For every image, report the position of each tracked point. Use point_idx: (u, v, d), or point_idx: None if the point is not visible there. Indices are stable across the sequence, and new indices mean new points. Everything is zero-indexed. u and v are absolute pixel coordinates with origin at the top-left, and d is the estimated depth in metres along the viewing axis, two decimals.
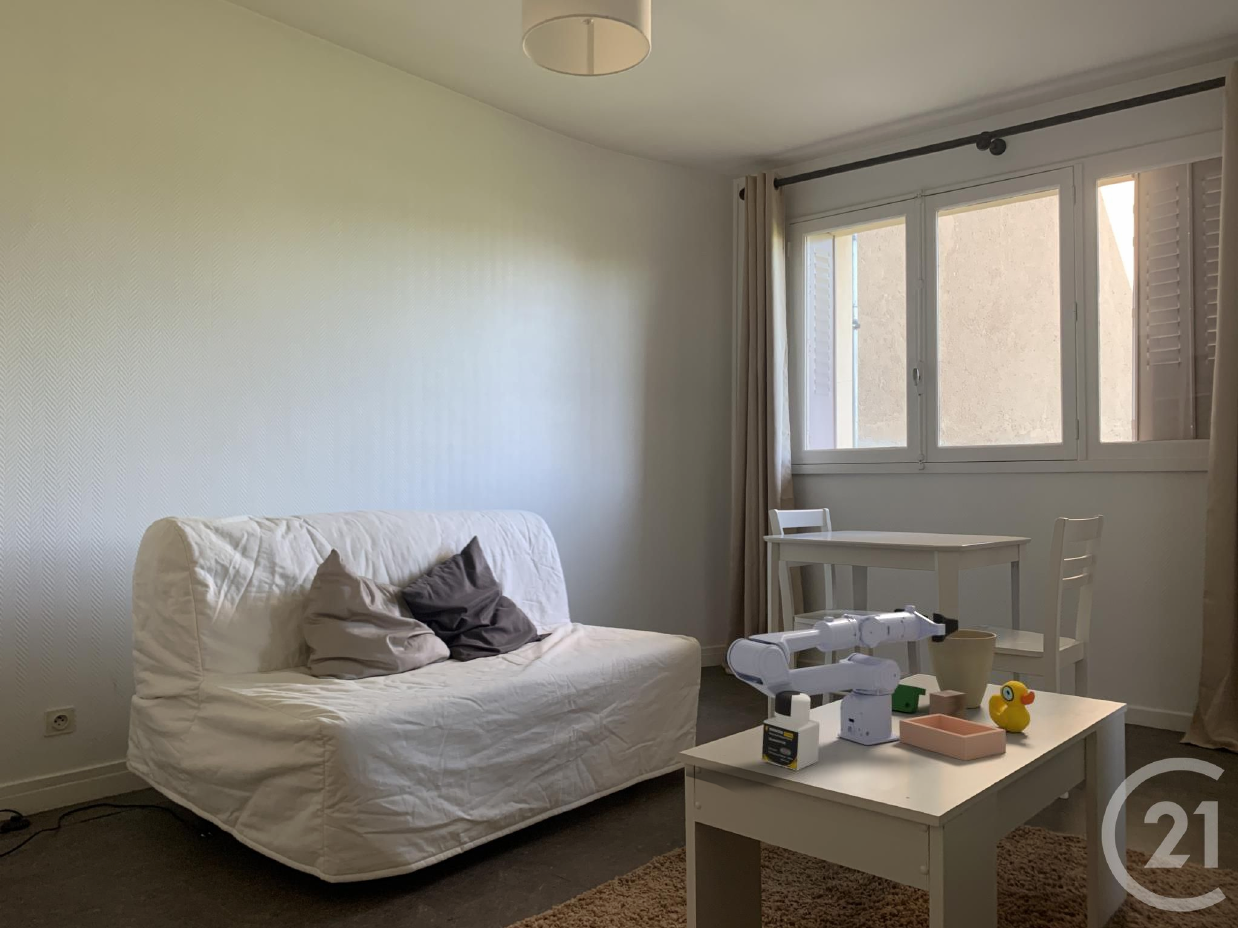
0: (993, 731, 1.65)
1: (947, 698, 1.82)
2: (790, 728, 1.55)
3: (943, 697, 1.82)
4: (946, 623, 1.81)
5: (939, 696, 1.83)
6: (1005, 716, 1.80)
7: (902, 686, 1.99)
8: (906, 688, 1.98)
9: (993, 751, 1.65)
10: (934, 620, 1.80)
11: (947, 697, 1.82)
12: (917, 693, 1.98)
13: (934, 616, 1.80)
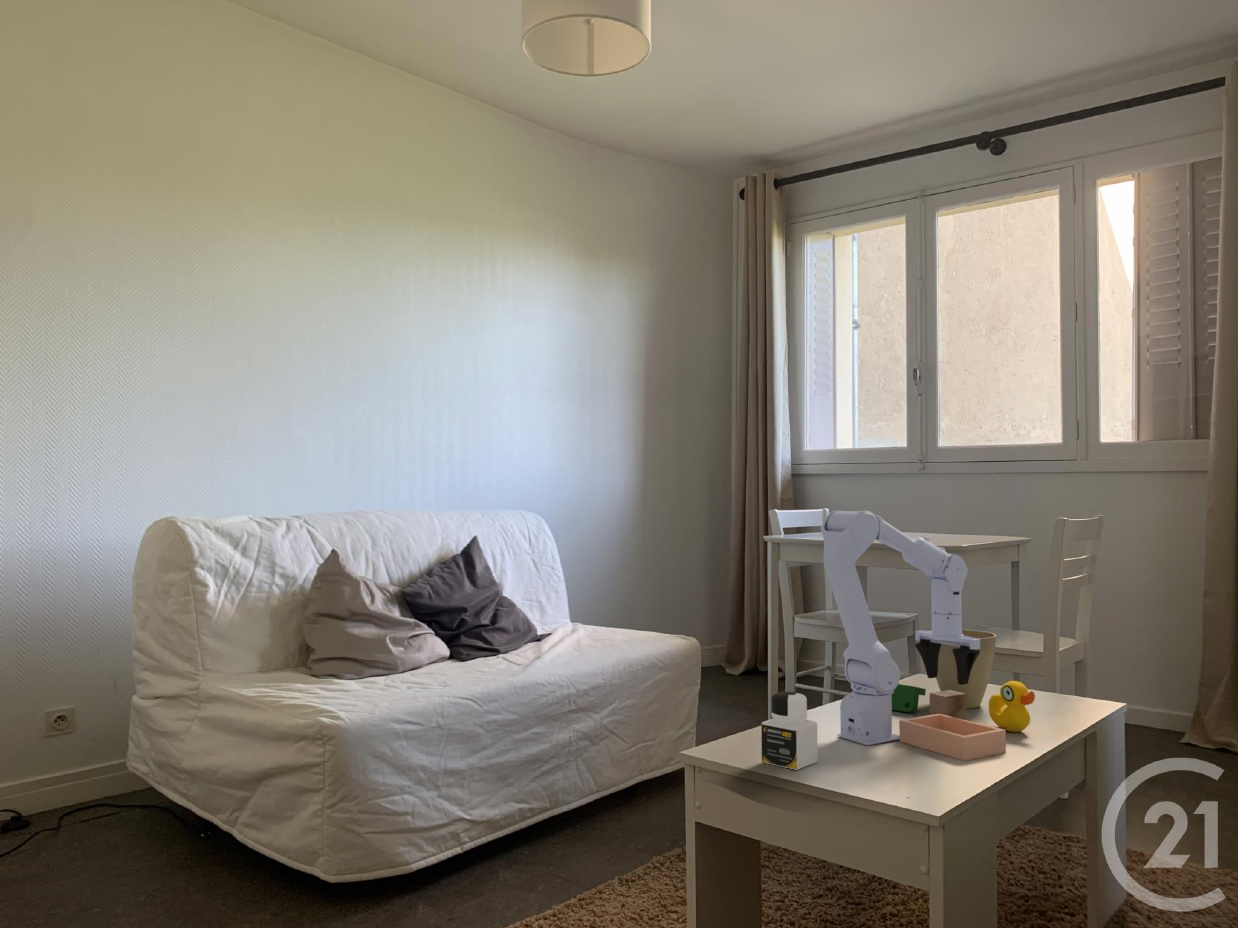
0: (993, 731, 1.65)
1: (947, 698, 1.82)
2: (788, 727, 1.56)
3: (943, 697, 1.82)
4: (966, 665, 1.81)
5: (939, 696, 1.83)
6: (1005, 716, 1.80)
7: (902, 686, 1.99)
8: (906, 688, 1.98)
9: (993, 751, 1.65)
10: None
11: (947, 697, 1.82)
12: (917, 693, 1.97)
13: None
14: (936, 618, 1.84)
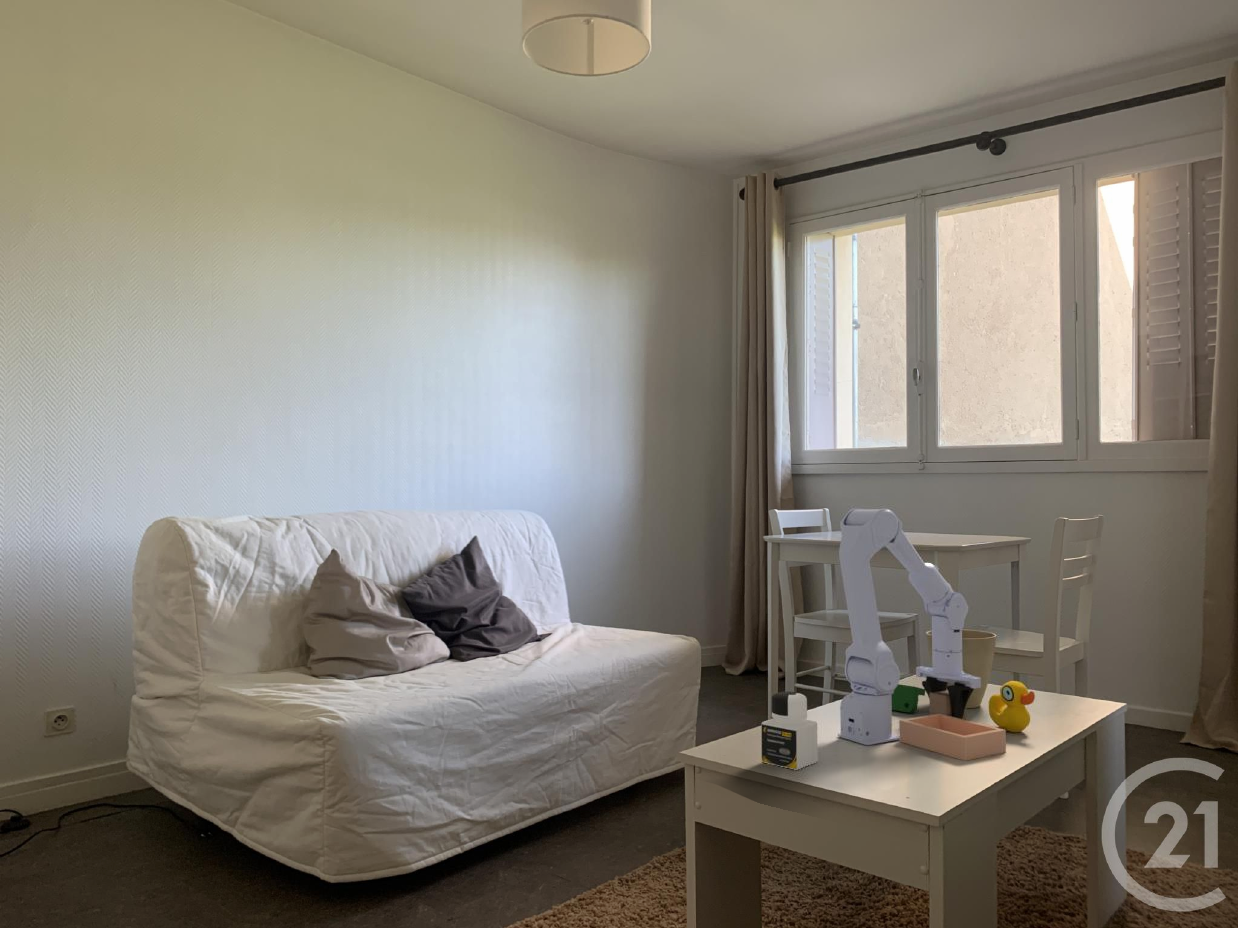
0: (993, 731, 1.65)
1: (947, 697, 1.82)
2: (788, 727, 1.56)
3: (943, 697, 1.82)
4: (961, 702, 1.82)
5: (939, 696, 1.83)
6: (1005, 716, 1.80)
7: (901, 686, 1.99)
8: (905, 688, 1.98)
9: (993, 751, 1.65)
10: None
11: (947, 697, 1.82)
12: (916, 693, 1.97)
13: None
14: (937, 656, 1.84)
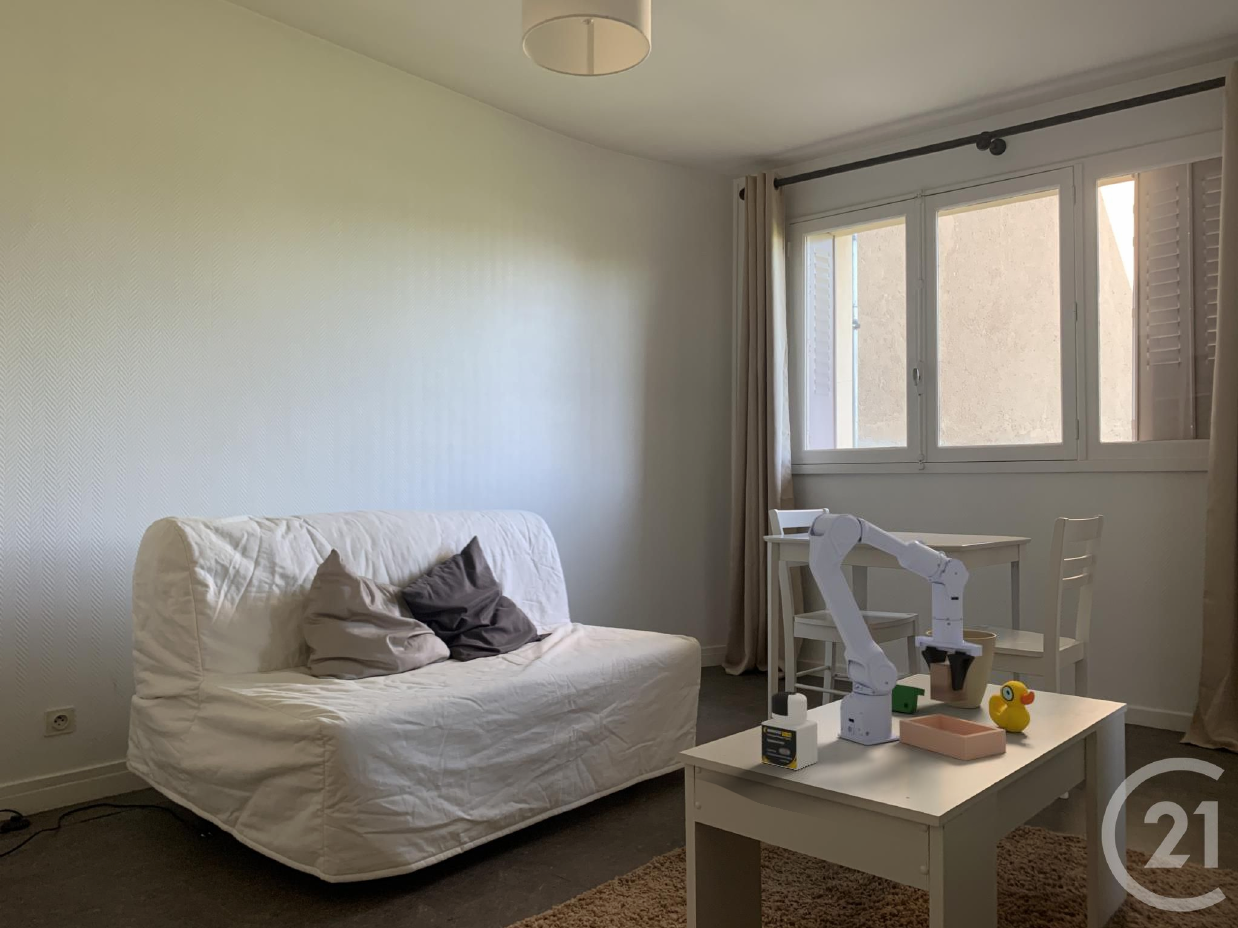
0: (993, 731, 1.65)
1: (948, 668, 1.78)
2: (788, 727, 1.56)
3: (944, 667, 1.78)
4: (961, 671, 1.78)
5: (940, 666, 1.79)
6: (1005, 716, 1.80)
7: (901, 686, 1.99)
8: (905, 688, 1.98)
9: (993, 751, 1.65)
10: None
11: (948, 667, 1.78)
12: (916, 693, 1.97)
13: None
14: (937, 624, 1.79)
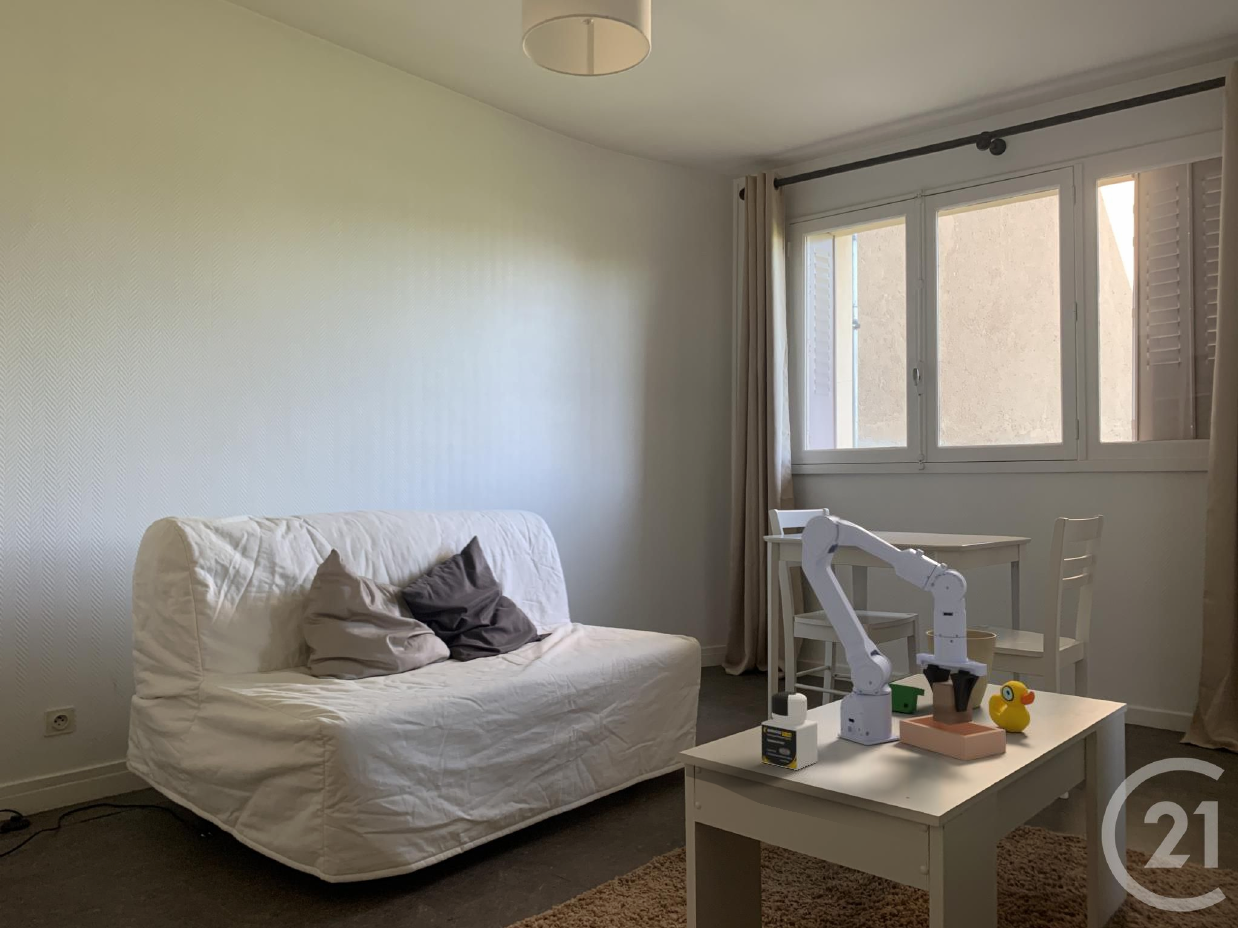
0: (993, 731, 1.65)
1: (952, 688, 1.68)
2: (788, 727, 1.56)
3: (948, 687, 1.68)
4: (965, 691, 1.68)
5: (943, 686, 1.69)
6: (1005, 716, 1.80)
7: (901, 686, 1.99)
8: (905, 688, 1.98)
9: (993, 751, 1.65)
10: None
11: (952, 687, 1.68)
12: (916, 693, 1.97)
13: None
14: (939, 641, 1.70)
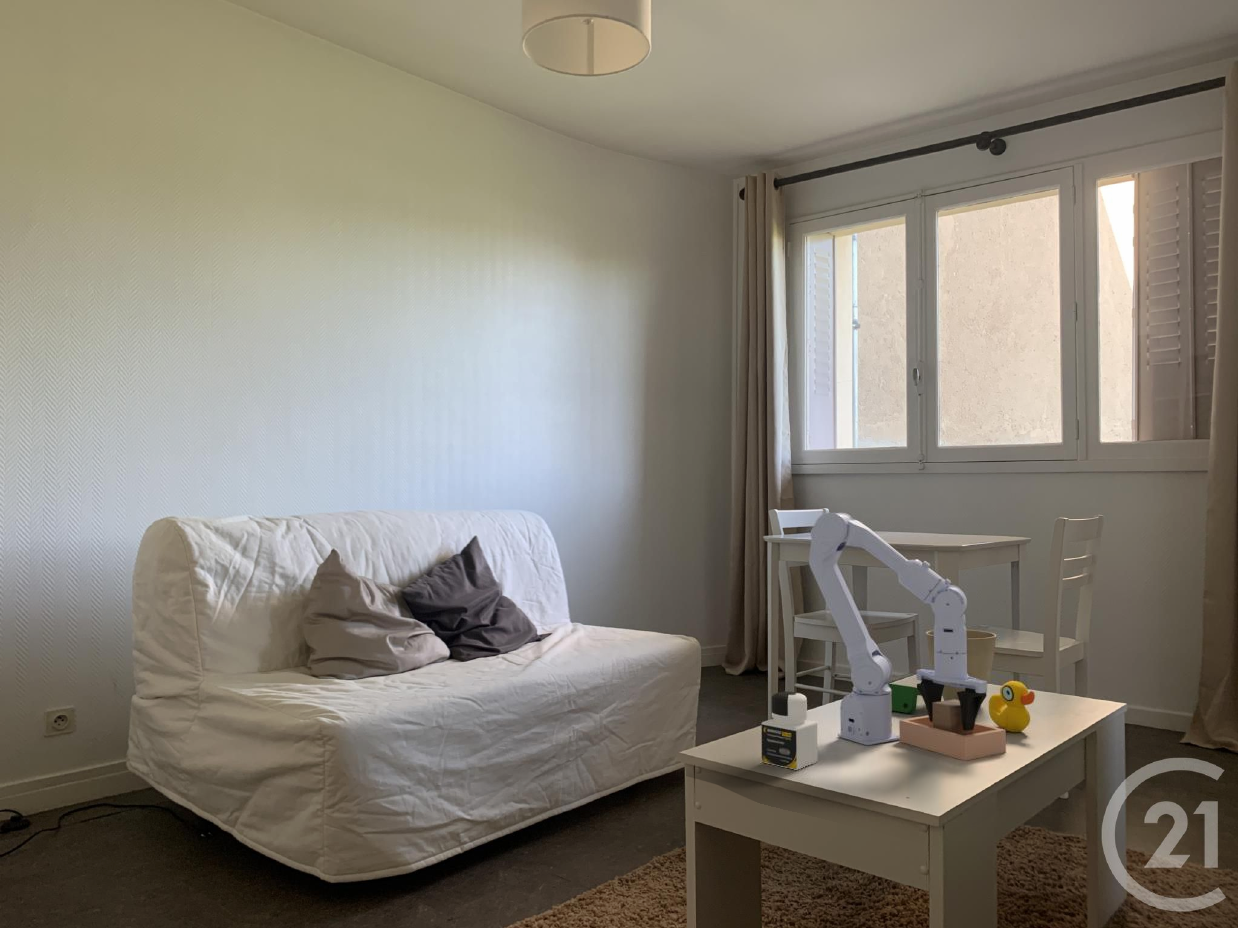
0: (993, 731, 1.65)
1: (951, 708, 1.68)
2: (788, 727, 1.56)
3: (947, 707, 1.68)
4: (972, 710, 1.67)
5: (943, 706, 1.69)
6: (1005, 716, 1.80)
7: (900, 686, 1.99)
8: (904, 688, 1.98)
9: (993, 751, 1.65)
10: None
11: (952, 707, 1.68)
12: (915, 693, 1.97)
13: None
14: (939, 657, 1.69)
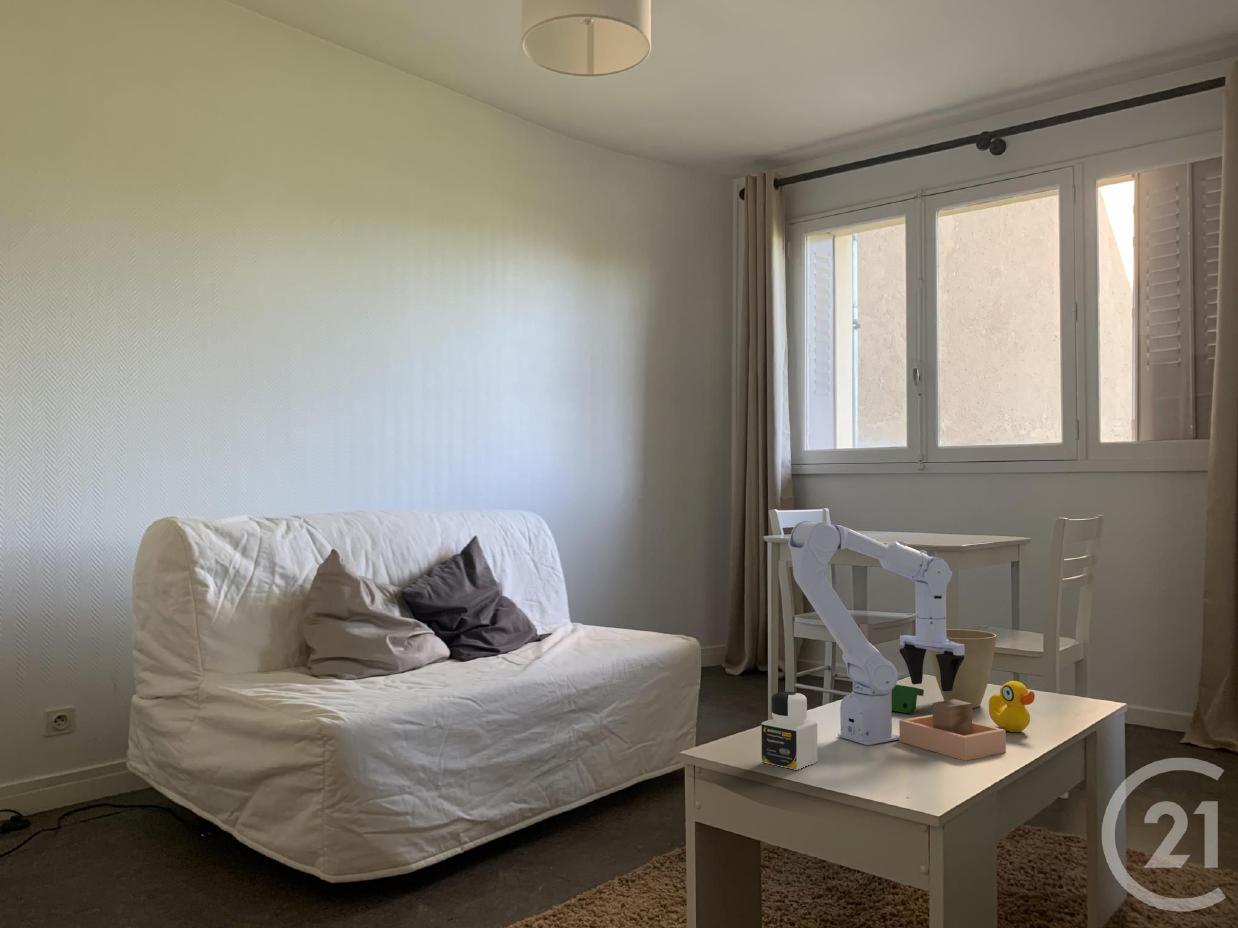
0: (993, 731, 1.65)
1: (951, 708, 1.68)
2: (788, 727, 1.56)
3: (947, 707, 1.68)
4: (951, 672, 1.76)
5: (943, 706, 1.69)
6: (1005, 716, 1.80)
7: (900, 687, 1.98)
8: (904, 689, 1.98)
9: (993, 751, 1.65)
10: None
11: (952, 707, 1.68)
12: (915, 694, 1.97)
13: None
14: (920, 623, 1.79)
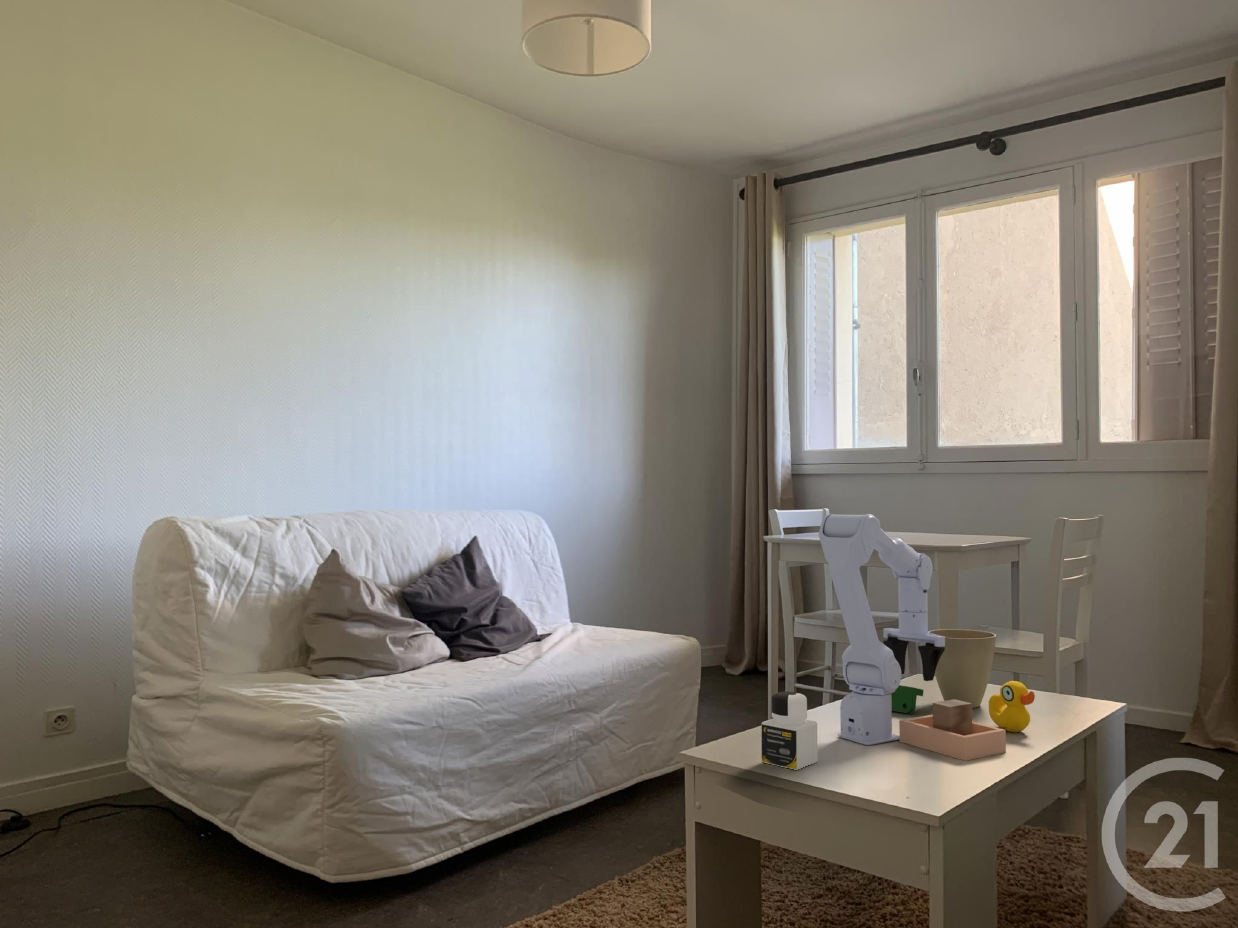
0: (993, 731, 1.65)
1: (951, 708, 1.68)
2: (788, 727, 1.56)
3: (947, 707, 1.68)
4: (932, 662, 1.85)
5: (943, 706, 1.69)
6: (1005, 716, 1.80)
7: (899, 687, 1.98)
8: (903, 689, 1.98)
9: (993, 751, 1.65)
10: None
11: (952, 707, 1.68)
12: (914, 694, 1.97)
13: None
14: (902, 616, 1.88)
